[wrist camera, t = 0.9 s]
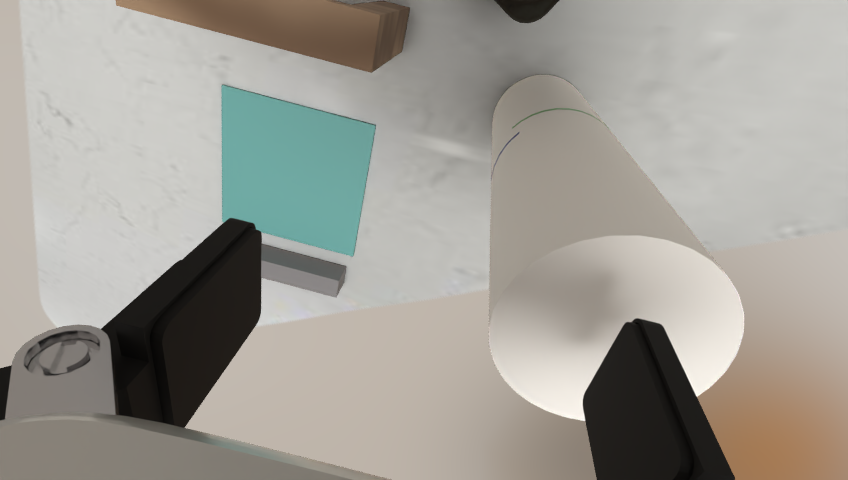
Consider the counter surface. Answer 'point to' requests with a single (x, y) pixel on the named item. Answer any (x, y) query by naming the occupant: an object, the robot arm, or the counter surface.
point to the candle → (526, 9)
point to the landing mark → (293, 169)
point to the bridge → (297, 25)
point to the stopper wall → (301, 271)
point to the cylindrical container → (589, 254)
